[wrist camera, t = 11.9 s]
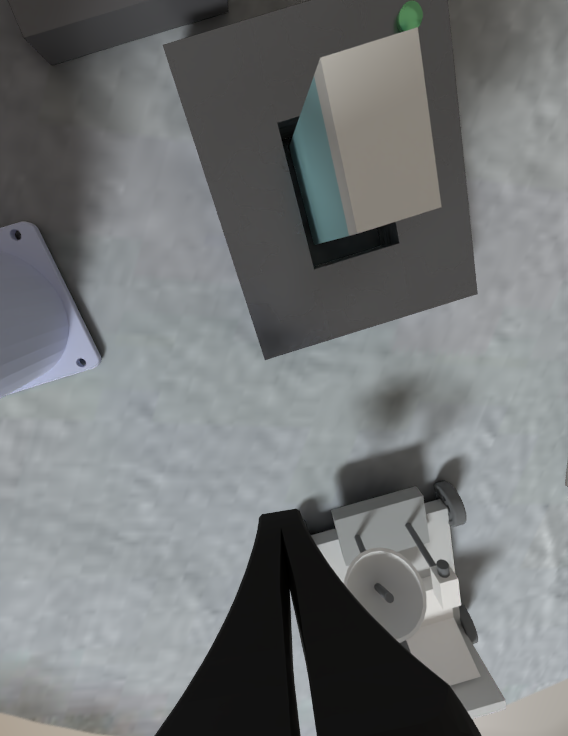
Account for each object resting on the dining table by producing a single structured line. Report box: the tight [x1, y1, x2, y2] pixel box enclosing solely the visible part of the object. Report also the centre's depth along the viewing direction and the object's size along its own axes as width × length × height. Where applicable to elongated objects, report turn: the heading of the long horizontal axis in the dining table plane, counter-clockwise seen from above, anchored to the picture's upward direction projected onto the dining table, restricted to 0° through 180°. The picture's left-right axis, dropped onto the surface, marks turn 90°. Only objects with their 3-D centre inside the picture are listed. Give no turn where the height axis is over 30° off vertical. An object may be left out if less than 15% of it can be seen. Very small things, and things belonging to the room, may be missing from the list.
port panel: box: [163, 0, 477, 360], centre depth 17 cm, size 12×14×3 cm
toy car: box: [304, 481, 506, 719], centre depth 22 cm, size 18×10×12 cm
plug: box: [289, 27, 441, 245], centre depth 14 cm, size 3×5×8 cm, turn 16°
